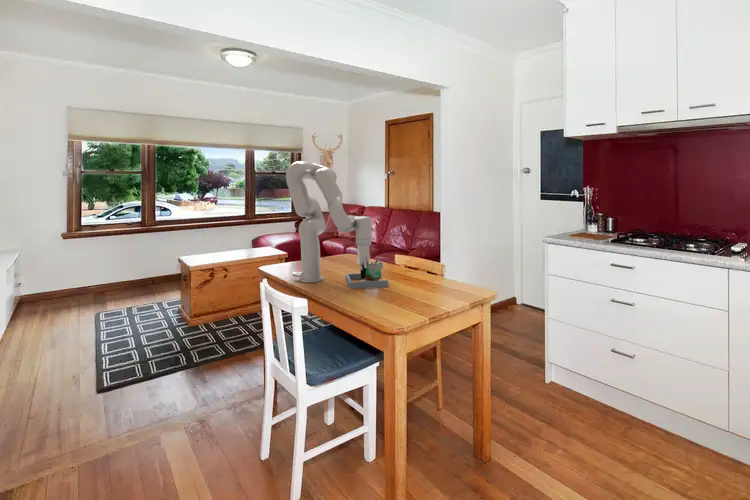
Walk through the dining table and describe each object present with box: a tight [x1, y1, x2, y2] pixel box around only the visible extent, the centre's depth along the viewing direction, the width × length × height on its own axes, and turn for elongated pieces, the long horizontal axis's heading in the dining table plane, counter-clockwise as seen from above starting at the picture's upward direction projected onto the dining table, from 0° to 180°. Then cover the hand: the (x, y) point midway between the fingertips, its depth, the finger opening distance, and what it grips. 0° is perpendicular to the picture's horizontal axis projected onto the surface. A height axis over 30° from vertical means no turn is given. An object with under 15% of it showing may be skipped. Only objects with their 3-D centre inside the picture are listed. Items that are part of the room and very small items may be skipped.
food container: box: [364, 259, 384, 281], centre depth 209 cm, size 12×6×10 cm, turn 156°
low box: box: [344, 272, 389, 290], centre depth 209 cm, size 19×18×3 cm
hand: (363, 278), depth 209 cm, fingers closed
